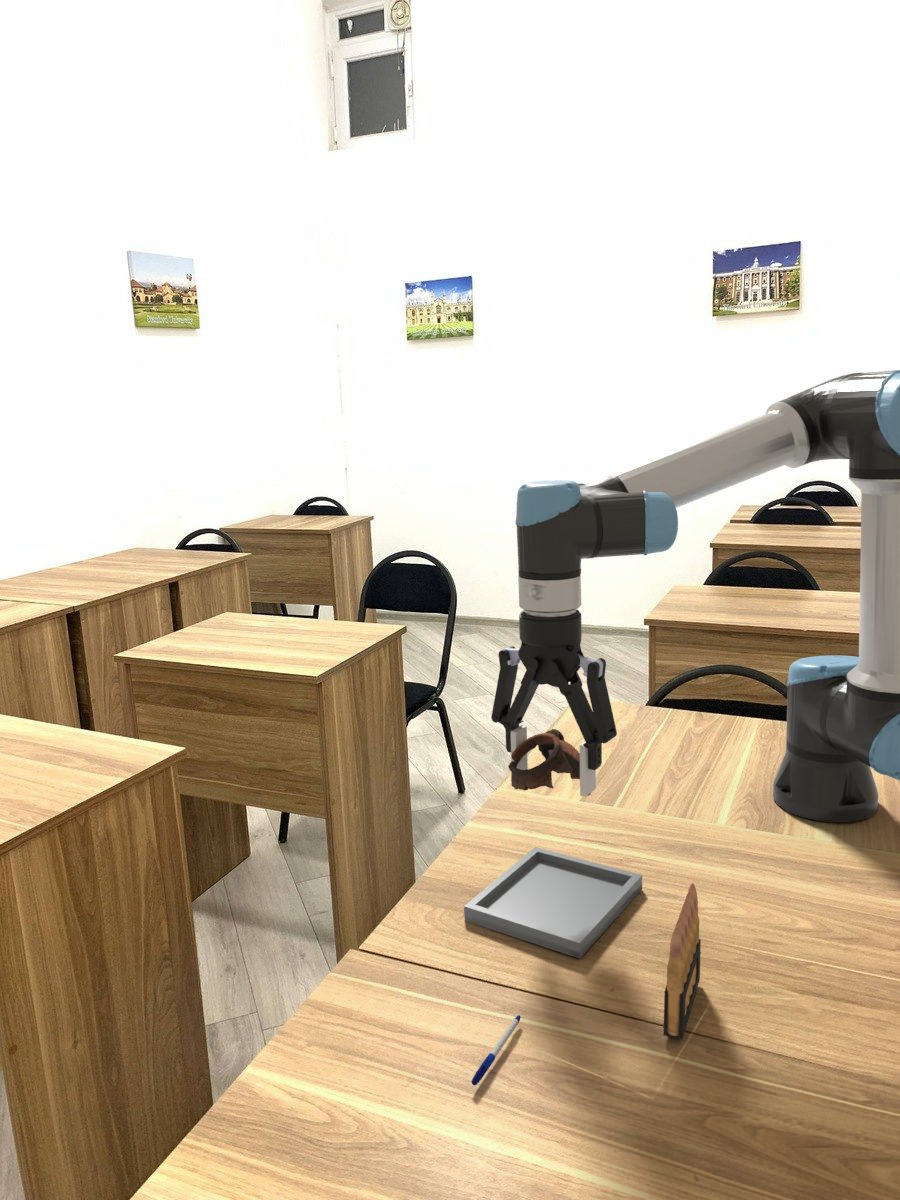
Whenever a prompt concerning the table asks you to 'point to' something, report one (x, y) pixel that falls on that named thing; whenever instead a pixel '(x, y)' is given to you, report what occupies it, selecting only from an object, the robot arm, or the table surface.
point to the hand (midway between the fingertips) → (553, 784)
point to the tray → (554, 901)
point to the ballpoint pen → (494, 1052)
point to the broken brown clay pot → (557, 759)
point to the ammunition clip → (682, 968)
